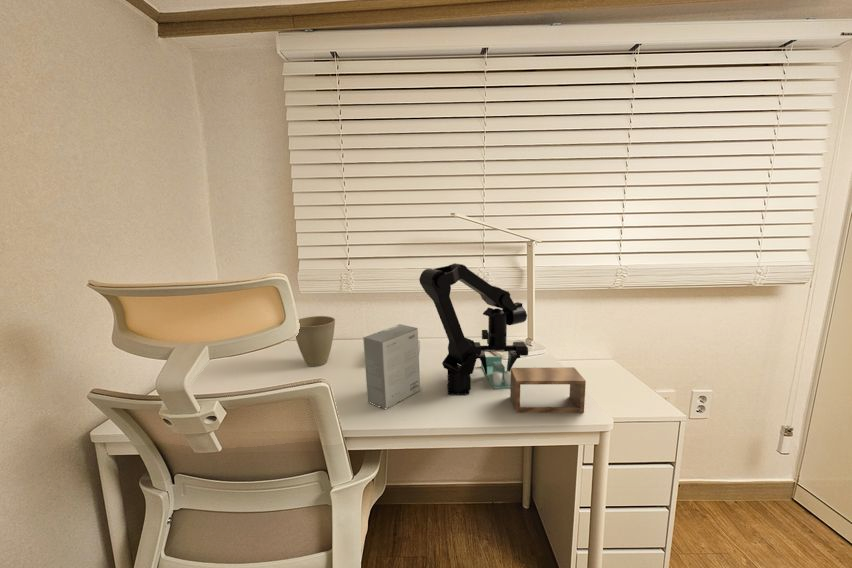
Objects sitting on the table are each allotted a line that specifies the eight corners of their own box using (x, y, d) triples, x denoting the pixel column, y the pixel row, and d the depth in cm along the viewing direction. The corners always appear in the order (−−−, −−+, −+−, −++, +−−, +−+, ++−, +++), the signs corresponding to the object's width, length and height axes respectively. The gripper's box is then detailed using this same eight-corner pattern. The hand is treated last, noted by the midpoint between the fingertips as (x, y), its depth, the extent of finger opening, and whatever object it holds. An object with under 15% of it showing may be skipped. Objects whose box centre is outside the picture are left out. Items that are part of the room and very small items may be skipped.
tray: (481, 367, 136) (481, 354, 136) (500, 366, 137) (501, 353, 136) (494, 390, 119) (494, 375, 118) (516, 389, 119) (516, 373, 118)
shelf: (515, 412, 105) (516, 381, 103) (510, 396, 114) (510, 367, 112) (584, 412, 104) (585, 380, 102) (572, 396, 113) (574, 367, 111)
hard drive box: (402, 384, 124) (400, 323, 120) (421, 390, 119) (419, 327, 116) (366, 402, 112) (362, 336, 109) (384, 410, 107) (381, 341, 104)
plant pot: (341, 365, 140) (339, 323, 137) (298, 373, 134) (295, 329, 131) (332, 352, 153) (330, 313, 150) (293, 359, 147) (289, 318, 144)
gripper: (522, 320, 131) (521, 364, 134) (466, 321, 132) (466, 364, 135) (529, 330, 120) (528, 377, 123) (468, 330, 121) (468, 377, 124)
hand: (496, 373), depth 127 cm, fingers open, 7 cm apart
